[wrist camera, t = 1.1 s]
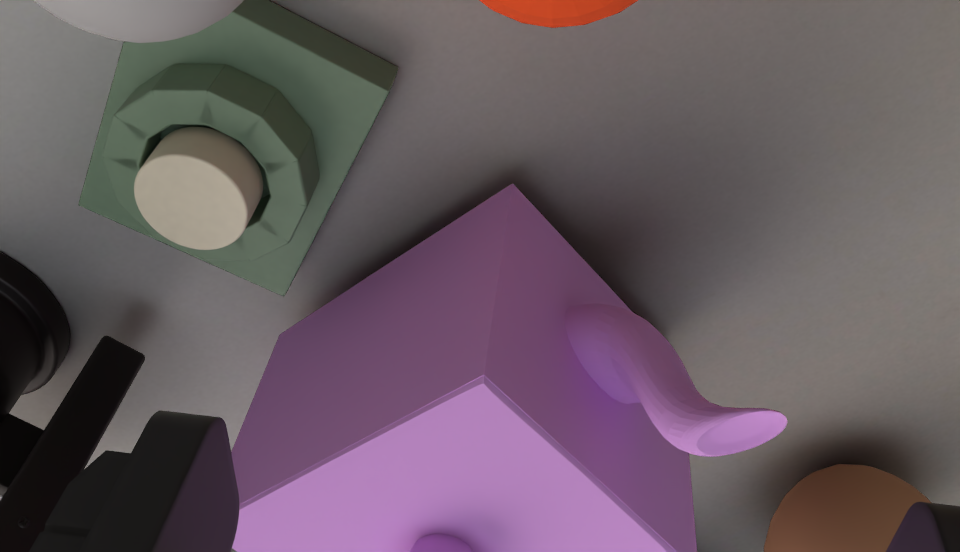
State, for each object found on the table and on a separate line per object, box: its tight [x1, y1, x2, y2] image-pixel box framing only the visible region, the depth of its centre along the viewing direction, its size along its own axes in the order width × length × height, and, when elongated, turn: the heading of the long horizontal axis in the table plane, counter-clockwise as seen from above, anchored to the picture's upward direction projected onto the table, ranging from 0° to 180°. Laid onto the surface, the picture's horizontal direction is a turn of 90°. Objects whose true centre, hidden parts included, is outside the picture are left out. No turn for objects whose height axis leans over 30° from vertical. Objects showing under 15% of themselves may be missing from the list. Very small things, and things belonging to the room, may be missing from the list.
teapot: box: [231, 183, 787, 552], centre depth 31 cm, size 20×10×12 cm, turn 131°
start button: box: [134, 127, 263, 250], centre depth 29 cm, size 4×4×2 cm
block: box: [79, 0, 398, 296], centre depth 31 cm, size 10×8×4 cm
